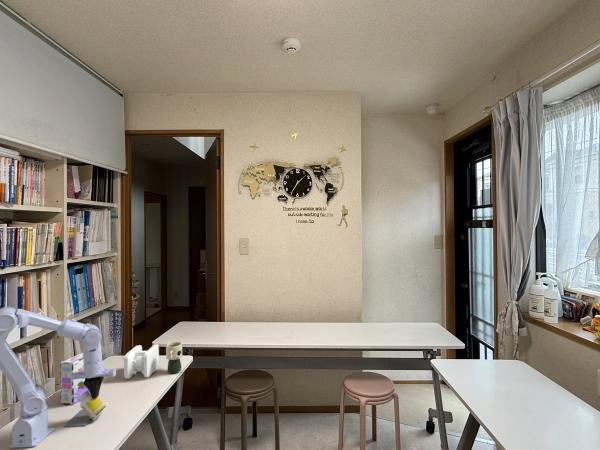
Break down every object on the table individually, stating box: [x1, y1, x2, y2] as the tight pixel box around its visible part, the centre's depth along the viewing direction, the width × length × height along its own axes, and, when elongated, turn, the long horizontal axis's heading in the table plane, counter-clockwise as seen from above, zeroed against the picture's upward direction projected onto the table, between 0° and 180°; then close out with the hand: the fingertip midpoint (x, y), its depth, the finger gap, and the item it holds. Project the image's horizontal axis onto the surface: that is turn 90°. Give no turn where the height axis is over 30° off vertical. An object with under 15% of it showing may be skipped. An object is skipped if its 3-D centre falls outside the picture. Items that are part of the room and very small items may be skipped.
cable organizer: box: [122, 343, 160, 379], centre depth 161 cm, size 15×11×12 cm
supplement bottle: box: [77, 390, 107, 421], centre depth 124 cm, size 5×5×10 cm
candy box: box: [59, 352, 90, 406], centre depth 141 cm, size 14×6×16 cm, turn 168°
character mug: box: [165, 341, 183, 374], centre depth 163 cm, size 11×7×13 cm, turn 1°
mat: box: [64, 409, 93, 428], centre depth 125 cm, size 10×7×1 cm
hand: (95, 397), depth 124 cm, fingers closed
